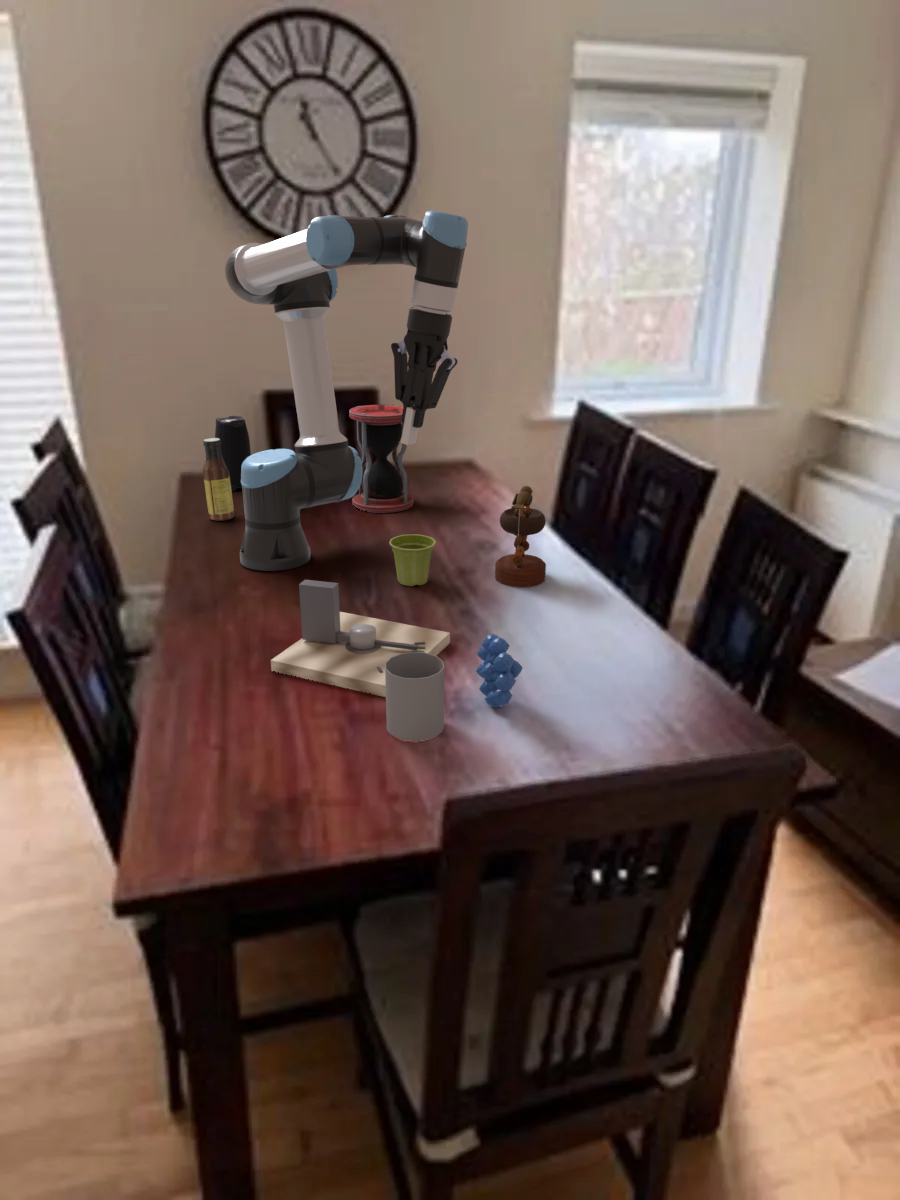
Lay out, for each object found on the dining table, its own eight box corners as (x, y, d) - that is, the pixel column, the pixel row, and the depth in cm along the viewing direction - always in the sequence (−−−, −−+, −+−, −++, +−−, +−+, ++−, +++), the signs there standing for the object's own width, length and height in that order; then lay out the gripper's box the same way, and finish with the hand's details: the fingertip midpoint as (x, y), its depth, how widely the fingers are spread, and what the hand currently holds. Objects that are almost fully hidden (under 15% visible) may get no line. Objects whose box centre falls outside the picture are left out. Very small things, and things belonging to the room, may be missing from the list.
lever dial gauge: (421, 644, 148) (421, 589, 144) (413, 656, 144) (413, 599, 140) (310, 631, 152) (307, 577, 148) (300, 641, 148) (296, 586, 144)
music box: (551, 590, 177) (547, 494, 170) (496, 594, 178) (490, 498, 170) (544, 563, 191) (540, 474, 184) (493, 567, 192) (488, 478, 184)
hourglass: (425, 502, 235) (425, 408, 226) (389, 517, 223) (387, 417, 213) (377, 493, 243) (374, 401, 234) (339, 507, 231) (335, 411, 221)
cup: (386, 713, 131) (384, 652, 127) (441, 711, 132) (441, 651, 128) (387, 743, 123) (385, 680, 120) (445, 741, 124) (446, 677, 120)
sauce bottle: (239, 516, 223) (232, 437, 215) (225, 522, 217) (218, 443, 210) (216, 513, 225) (209, 435, 217) (202, 520, 219) (194, 440, 212)
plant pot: (443, 577, 183) (443, 538, 180) (423, 592, 176) (422, 551, 172) (403, 570, 187) (402, 531, 184) (381, 585, 179) (380, 544, 176)
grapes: (535, 721, 129) (538, 647, 125) (491, 727, 127) (493, 652, 123) (508, 685, 140) (511, 615, 135) (468, 690, 138) (469, 620, 133)
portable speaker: (254, 490, 245) (248, 420, 237) (219, 493, 242) (212, 421, 235) (252, 482, 252) (246, 414, 245) (218, 485, 250) (212, 415, 242)
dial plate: (271, 671, 144) (270, 658, 143) (340, 621, 162) (340, 610, 161) (391, 698, 135) (391, 685, 134) (449, 643, 154) (449, 631, 153)
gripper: (474, 318, 151) (448, 451, 160) (413, 302, 157) (391, 431, 166) (451, 317, 145) (426, 455, 154) (388, 300, 151) (367, 435, 160)
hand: (408, 443), depth 160 cm, fingers closed
